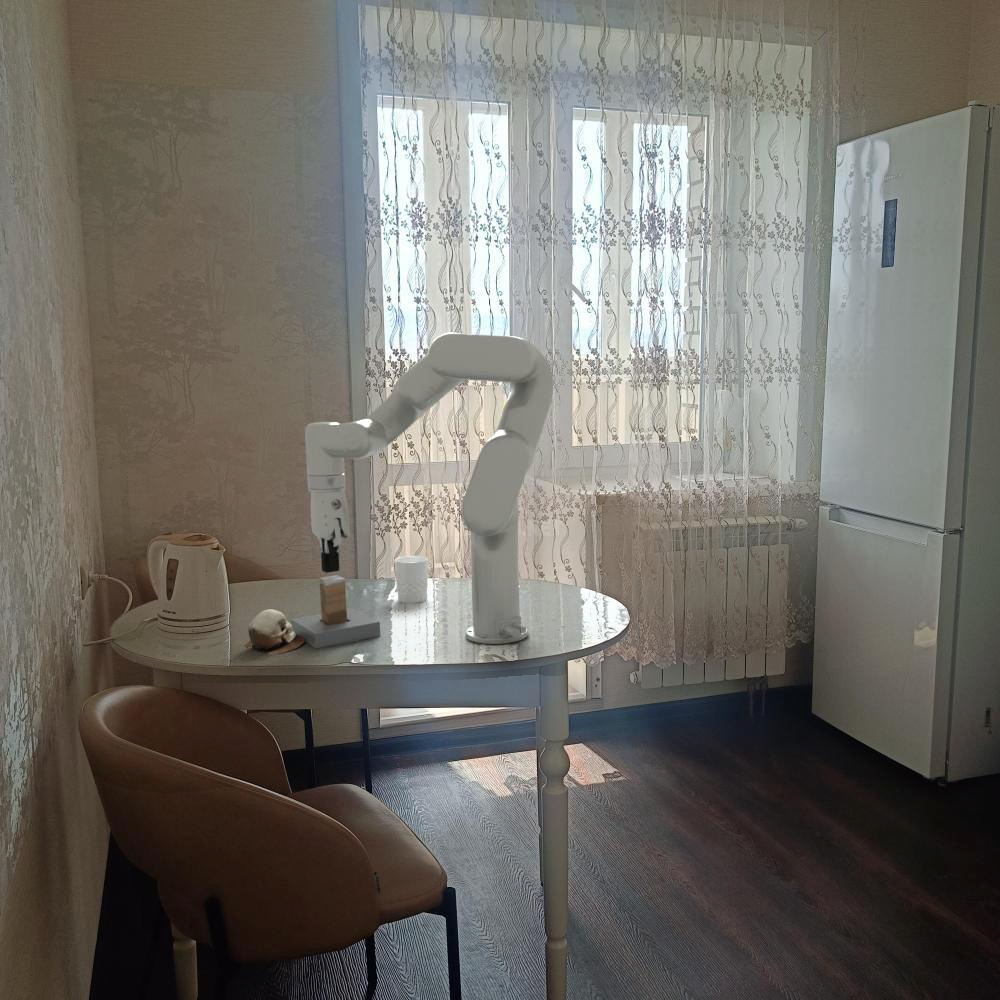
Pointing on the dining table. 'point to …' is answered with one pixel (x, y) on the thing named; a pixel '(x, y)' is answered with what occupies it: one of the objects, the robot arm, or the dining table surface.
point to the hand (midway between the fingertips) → (330, 570)
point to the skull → (272, 633)
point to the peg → (333, 600)
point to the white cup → (411, 578)
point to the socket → (335, 629)
